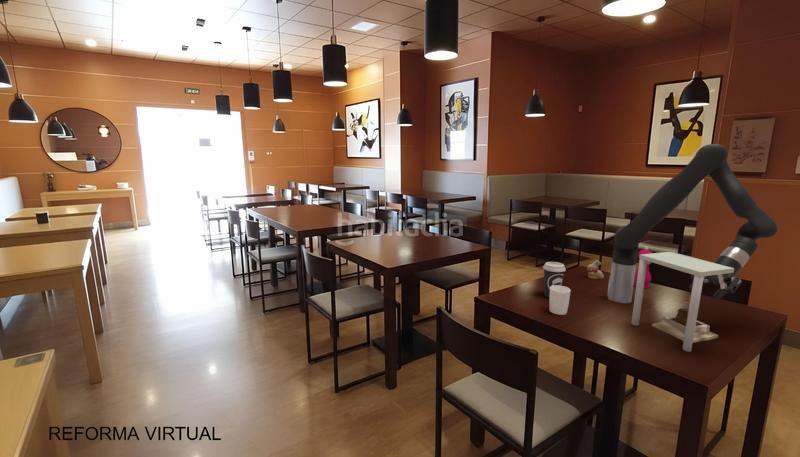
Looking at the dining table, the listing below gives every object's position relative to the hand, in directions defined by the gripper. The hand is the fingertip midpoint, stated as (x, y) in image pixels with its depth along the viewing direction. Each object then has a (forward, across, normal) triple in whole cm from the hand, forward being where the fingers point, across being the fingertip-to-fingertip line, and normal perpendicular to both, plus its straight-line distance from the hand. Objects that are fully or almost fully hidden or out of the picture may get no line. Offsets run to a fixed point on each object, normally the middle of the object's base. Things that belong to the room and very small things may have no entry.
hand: (702, 294), depth 139 cm
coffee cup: (+31, -44, -11) cm, 55 cm away
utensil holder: (+14, 0, +5) cm, 14 cm away
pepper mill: (-5, -42, +25) cm, 49 cm away
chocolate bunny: (+3, -60, +17) cm, 62 cm away
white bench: (+18, 0, +2) cm, 18 cm away
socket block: (+14, 0, +6) cm, 15 cm away
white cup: (+37, -28, -17) cm, 50 cm away
